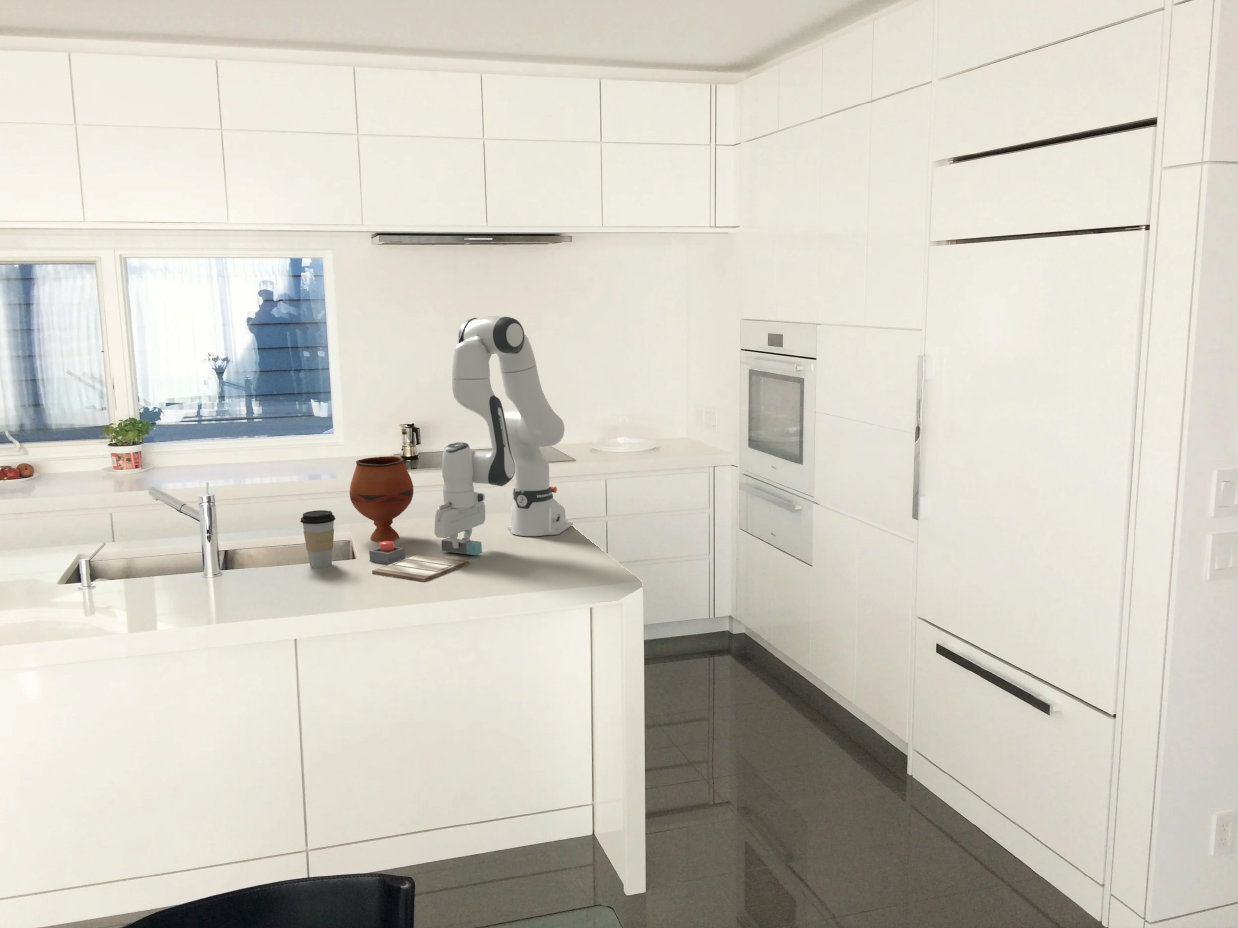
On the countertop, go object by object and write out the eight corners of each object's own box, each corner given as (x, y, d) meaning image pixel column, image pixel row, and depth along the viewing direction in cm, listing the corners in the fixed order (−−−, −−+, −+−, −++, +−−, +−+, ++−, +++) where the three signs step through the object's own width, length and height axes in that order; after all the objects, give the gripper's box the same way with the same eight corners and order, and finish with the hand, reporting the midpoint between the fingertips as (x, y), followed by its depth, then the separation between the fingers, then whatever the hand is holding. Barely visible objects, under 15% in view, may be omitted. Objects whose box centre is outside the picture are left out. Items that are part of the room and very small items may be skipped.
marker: (441, 550, 295) (441, 540, 295) (448, 548, 298) (447, 537, 297) (475, 555, 290) (474, 544, 289) (481, 552, 292) (481, 541, 292)
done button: (386, 549, 291) (386, 540, 291) (397, 550, 289) (396, 541, 289) (376, 552, 288) (376, 543, 287) (387, 553, 286) (387, 545, 285)
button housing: (386, 555, 294) (385, 545, 293) (405, 558, 290) (404, 548, 290) (369, 561, 287) (369, 550, 287) (388, 563, 284) (388, 553, 284)
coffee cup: (325, 570, 278) (321, 517, 275) (296, 568, 281) (292, 515, 278) (344, 562, 287) (341, 510, 284) (316, 559, 290) (313, 508, 287)
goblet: (341, 544, 307) (336, 464, 302) (370, 530, 325) (365, 453, 321) (399, 547, 302) (395, 465, 298) (425, 532, 321) (421, 455, 317)
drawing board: (419, 556, 292) (419, 553, 292) (469, 563, 284) (469, 560, 283) (372, 573, 275) (372, 570, 275) (424, 581, 266) (423, 578, 266)
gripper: (445, 507, 281) (448, 555, 283) (488, 493, 298) (490, 538, 301) (427, 505, 283) (430, 553, 286) (470, 491, 301) (472, 536, 304)
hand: (461, 545), depth 294 cm, fingers closed on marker, 3 cm apart
